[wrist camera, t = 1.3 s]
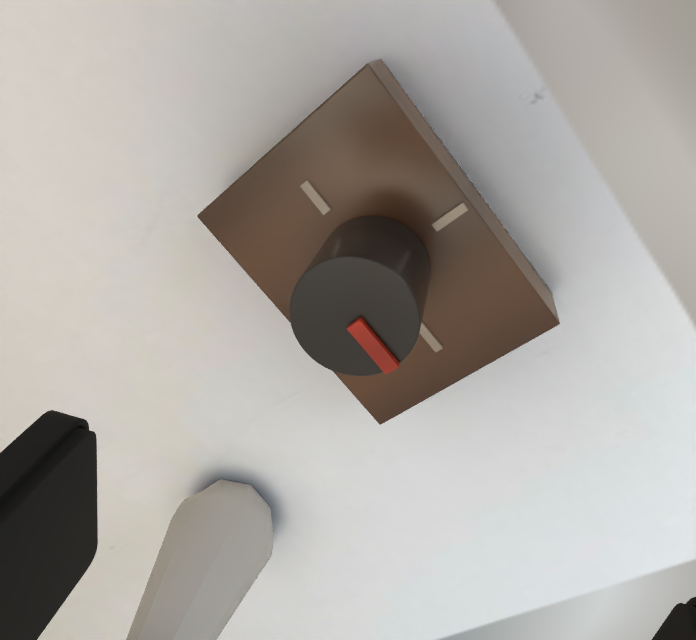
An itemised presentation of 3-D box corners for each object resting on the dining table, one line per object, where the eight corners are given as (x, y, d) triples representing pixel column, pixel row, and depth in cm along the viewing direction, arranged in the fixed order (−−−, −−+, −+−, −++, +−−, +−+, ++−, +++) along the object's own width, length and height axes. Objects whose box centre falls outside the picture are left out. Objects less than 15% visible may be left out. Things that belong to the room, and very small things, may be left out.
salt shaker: (242, 452, 33) (119, 678, 22) (304, 524, 35) (218, 770, 23) (171, 488, 36) (25, 709, 24) (231, 554, 37) (120, 791, 26)
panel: (224, 196, 27) (194, 217, 24) (380, 57, 23) (366, 63, 20) (388, 389, 30) (379, 427, 27) (552, 293, 26) (561, 325, 23)
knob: (298, 257, 24) (259, 307, 20) (383, 192, 22) (360, 232, 18) (366, 338, 25) (343, 402, 21) (453, 281, 23) (447, 339, 19)
